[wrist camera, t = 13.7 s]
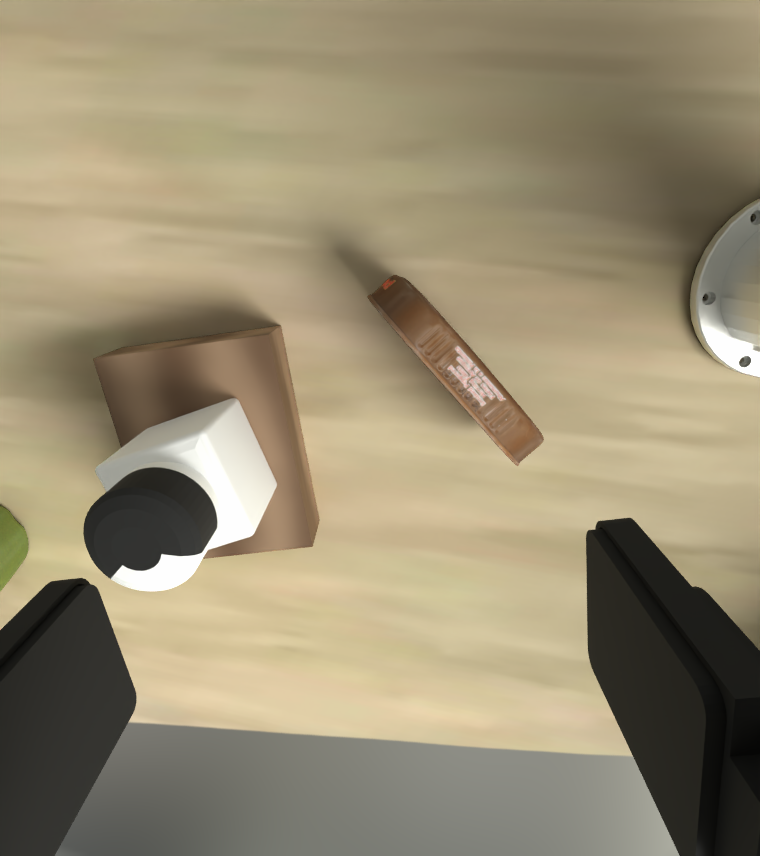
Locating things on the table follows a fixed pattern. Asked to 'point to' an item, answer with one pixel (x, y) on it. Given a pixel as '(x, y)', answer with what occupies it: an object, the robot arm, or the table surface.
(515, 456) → the tin
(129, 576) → the medicine bottle
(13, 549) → the plant pot
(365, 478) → the table surface
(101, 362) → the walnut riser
